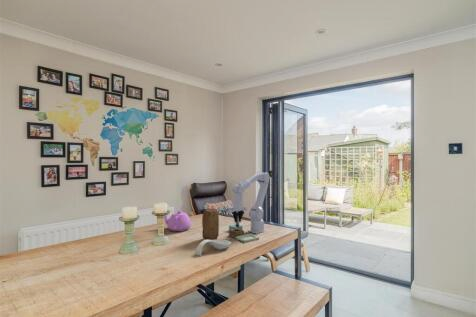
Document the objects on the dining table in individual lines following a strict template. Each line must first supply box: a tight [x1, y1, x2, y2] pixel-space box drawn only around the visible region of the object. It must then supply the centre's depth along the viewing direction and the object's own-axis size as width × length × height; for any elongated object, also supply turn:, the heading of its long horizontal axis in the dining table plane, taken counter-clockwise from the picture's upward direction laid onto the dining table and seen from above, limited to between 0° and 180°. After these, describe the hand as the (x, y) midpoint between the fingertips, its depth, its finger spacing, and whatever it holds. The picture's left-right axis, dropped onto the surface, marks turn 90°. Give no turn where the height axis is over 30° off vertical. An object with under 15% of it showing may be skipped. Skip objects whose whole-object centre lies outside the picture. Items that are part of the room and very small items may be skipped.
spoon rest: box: [194, 238, 232, 257], centre depth 156 cm, size 24×12×7 cm, turn 138°
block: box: [201, 208, 220, 241], centre depth 174 cm, size 11×8×20 cm
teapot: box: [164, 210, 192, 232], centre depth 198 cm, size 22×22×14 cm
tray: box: [235, 233, 260, 244], centre depth 178 cm, size 12×9×2 cm
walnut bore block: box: [228, 228, 245, 239], centre depth 184 cm, size 7×7×4 cm
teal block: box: [228, 223, 243, 231], centre depth 196 cm, size 7×7×4 cm
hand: (237, 222), depth 183 cm, fingers closed on pin gauge, 2 cm apart
